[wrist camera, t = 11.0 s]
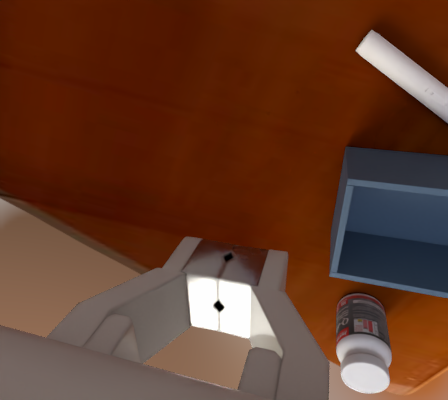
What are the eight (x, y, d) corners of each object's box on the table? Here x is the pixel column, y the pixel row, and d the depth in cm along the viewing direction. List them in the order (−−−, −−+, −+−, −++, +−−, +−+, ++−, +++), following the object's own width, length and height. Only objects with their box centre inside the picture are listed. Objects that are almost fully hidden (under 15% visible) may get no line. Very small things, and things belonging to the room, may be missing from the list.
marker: (529, 152, 30) (543, 161, 28) (507, 168, 32) (518, 178, 30) (371, 29, 30) (373, 29, 28) (354, 50, 31) (355, 52, 29)
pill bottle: (337, 289, 43) (336, 354, 34) (386, 294, 41) (398, 363, 33) (336, 322, 45) (335, 391, 37) (382, 328, 44) (393, 401, 35)
